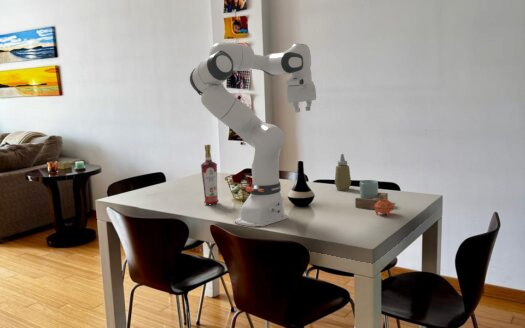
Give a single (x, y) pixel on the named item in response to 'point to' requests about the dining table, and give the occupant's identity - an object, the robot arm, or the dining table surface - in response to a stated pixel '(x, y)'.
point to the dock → (370, 201)
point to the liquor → (209, 178)
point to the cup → (368, 189)
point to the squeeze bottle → (342, 175)
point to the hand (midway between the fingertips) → (302, 111)
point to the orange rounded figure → (383, 206)
